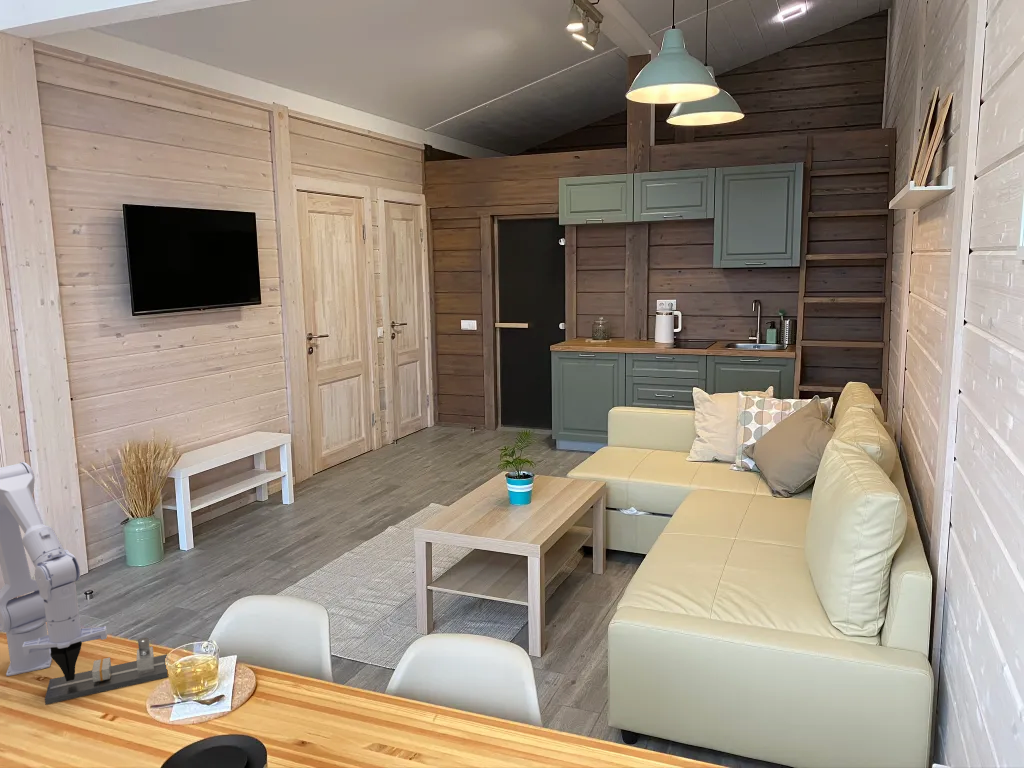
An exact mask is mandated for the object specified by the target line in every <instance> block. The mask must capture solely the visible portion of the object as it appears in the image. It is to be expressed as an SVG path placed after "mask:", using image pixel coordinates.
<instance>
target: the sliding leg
mask: <svg viewBox="0 0 1024 768" xmlns="http://www.w3.org/2000/svg"><path fill="white" fill-rule="evenodd" d="M111 662H112V660H111V657H107V658H106V657H105V658H100V659H95V660H94V661H93V665H92V676H93V682H97V681H103V680H106V679H110V674H111V666H112V663H111Z"/></svg>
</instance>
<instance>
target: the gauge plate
mask: <svg viewBox="0 0 1024 768" xmlns="http://www.w3.org/2000/svg"><path fill="white" fill-rule="evenodd" d="M149 640H150V639H149V637H142V638H140V639H138V640H137V644H138V648H137V649H136V660H133V661H130V662H125V663H120V664H119V663H118V664H114V665H111V674H110V679H106V680H103V681H97V682H93V676H92V670H93V669H92V670H87V671H82V672H78V673H75V678H74V680H71V681H66V679H65V676H64V675H63V676H59V677H54V678H50V679H49V681H48V685H47V688H46V689H47V690H46V693H45V697H44V703H45V705H46V706H47V705H51V704H53V703H54V704H55V703H59V702H63V701H68V700H72V699H77V698H82V697H85V696H90V695H94V694H99V693H103V692H104V693H105V692H107V691H112V690H116V689H121V688H126V687H129V686H135V685H139V684H144V683H149V682H152V681H157V680H160V679H166V678H168V677H169V676H167V669H166V665H165V658H166V656H167V657H168V655H167V653H165V654H162V655H158V656H154V646H152V645H151V646H150V641H149Z"/></svg>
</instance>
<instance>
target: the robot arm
mask: <svg viewBox="0 0 1024 768" xmlns="http://www.w3.org/2000/svg"><path fill="white" fill-rule="evenodd" d="M34 488H35V474H34V470H33V469H32V467H31V465H30V464H28V463H27V462H25V461H21V462H19V463H15V464H11V465H10V464H9V465H6V466H1V467H0V570H1V574H2V578H3V582H4V583H3V586H2V587H1V588H0V631H1V632H2V633H4V634H5V635H6V640H7V647H8V648H7V649H8V655H9V662H10V663H9V665H8V668H7V671H6V673H5V675H6V677H10V676H15V675H20V674H24V673H29V672H34V671H40V670H43V669H49V668H50V667H51V665H52V661H54V662H55V663H56V664H57V665H58V667H59V669H60V670H61V672H62V673H63V676H65V679H66V681H71V680H74V678H75V674H76V665H77V661H78V658H79V656H80V653H81V651H82V650H81V649H82V643H86V642H90V641H95V640H107V637H108V630H107V625H105V626H99V627H98V626H97V627H84V628H83V627H82V625H81V618H80V609H79V601H78V600H79V599H78V592H77V586H76V581H77V582H78V581H79V580H80V577H81V569H80V564H79V562H78V560H77V558H76V556H75V555H74V554H73V553H72V552H70V551H69V549H68V548H67V549H64V547H63V545H62V543H61V541H60V539H59V537H58V535H57V534H56V532H55V530H54V527H52V526H50V525H45V524H44V522H43V520H42V517H41V514H40V512H39V510H38V507H37V504H36V502H35V499H34V497H33V493H34V490H35V489H34ZM20 528H21V529H20ZM21 530H22V531H23V532H24V535H23V537H22V533H21ZM25 550H26V551H25ZM26 553H27V554H28V556H29V558H30V560H31V563H32V564H33V566H34V575H33V576H34V578H32V576H31V572H30V567H29V563H28V560H27V554H26Z"/></svg>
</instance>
